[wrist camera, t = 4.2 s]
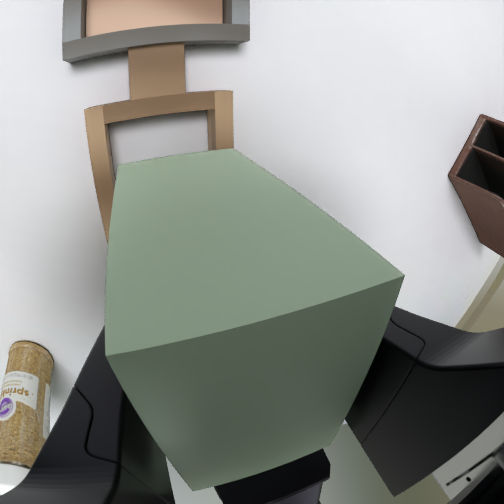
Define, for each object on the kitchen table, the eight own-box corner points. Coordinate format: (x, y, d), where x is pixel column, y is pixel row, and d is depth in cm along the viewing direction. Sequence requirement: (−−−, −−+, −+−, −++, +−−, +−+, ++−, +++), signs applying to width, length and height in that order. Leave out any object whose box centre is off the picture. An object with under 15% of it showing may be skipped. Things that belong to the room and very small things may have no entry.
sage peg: (237, 285, 14) (330, 444, 7) (147, 305, 12) (192, 491, 6) (233, 148, 10) (404, 274, 4) (118, 164, 9) (105, 356, 3)
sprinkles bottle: (23, 330, 19) (6, 484, 9) (63, 359, 22) (67, 505, 11) (1, 353, 19) (-15, 491, 8) (38, 379, 22) (38, 510, 11)
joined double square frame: (240, 232, 22) (250, 245, 21) (102, 258, 19) (100, 275, 18) (238, -59, 11) (249, -71, 10) (75, -49, 8) (71, -61, 7)
